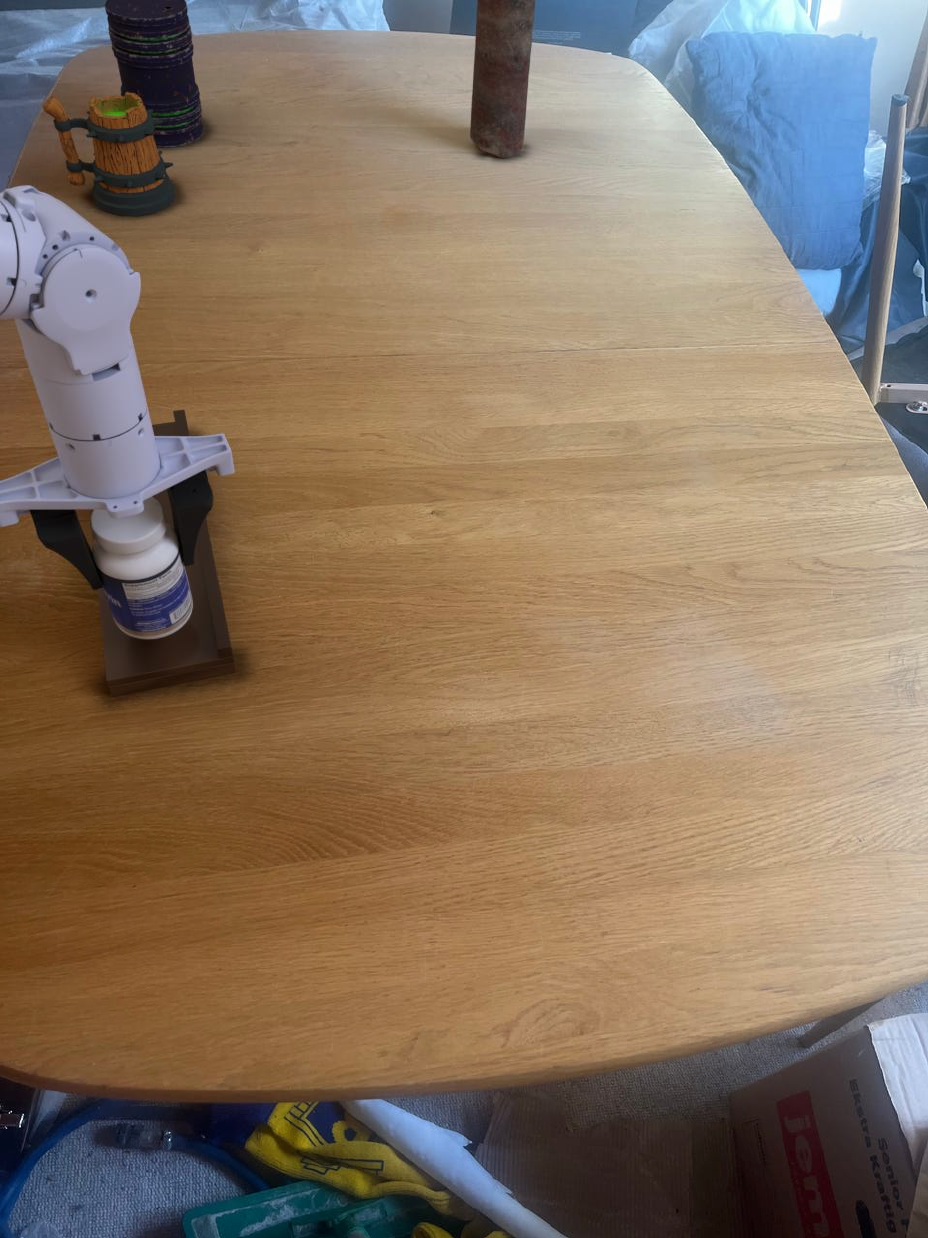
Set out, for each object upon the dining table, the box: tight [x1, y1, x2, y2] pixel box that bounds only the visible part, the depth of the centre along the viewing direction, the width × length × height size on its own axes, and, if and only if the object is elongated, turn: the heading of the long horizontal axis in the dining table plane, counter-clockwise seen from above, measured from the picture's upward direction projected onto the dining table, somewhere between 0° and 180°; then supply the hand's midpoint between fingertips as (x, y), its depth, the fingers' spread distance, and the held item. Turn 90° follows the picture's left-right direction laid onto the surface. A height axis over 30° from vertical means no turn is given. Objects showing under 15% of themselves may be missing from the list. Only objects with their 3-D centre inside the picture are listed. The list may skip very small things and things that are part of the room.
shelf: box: [89, 409, 237, 698], centre depth 78 cm, size 9×28×3 cm, turn 17°
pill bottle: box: [89, 497, 193, 639], centre depth 67 cm, size 6×6×10 cm
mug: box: [41, 92, 177, 217], centre depth 112 cm, size 13×10×12 cm
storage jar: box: [104, 0, 205, 148], centre depth 122 cm, size 10×10×15 cm
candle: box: [469, 0, 537, 159], centre depth 124 cm, size 8×7×20 cm
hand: (140, 567), depth 67 cm, fingers closed on pill bottle, 5 cm apart
